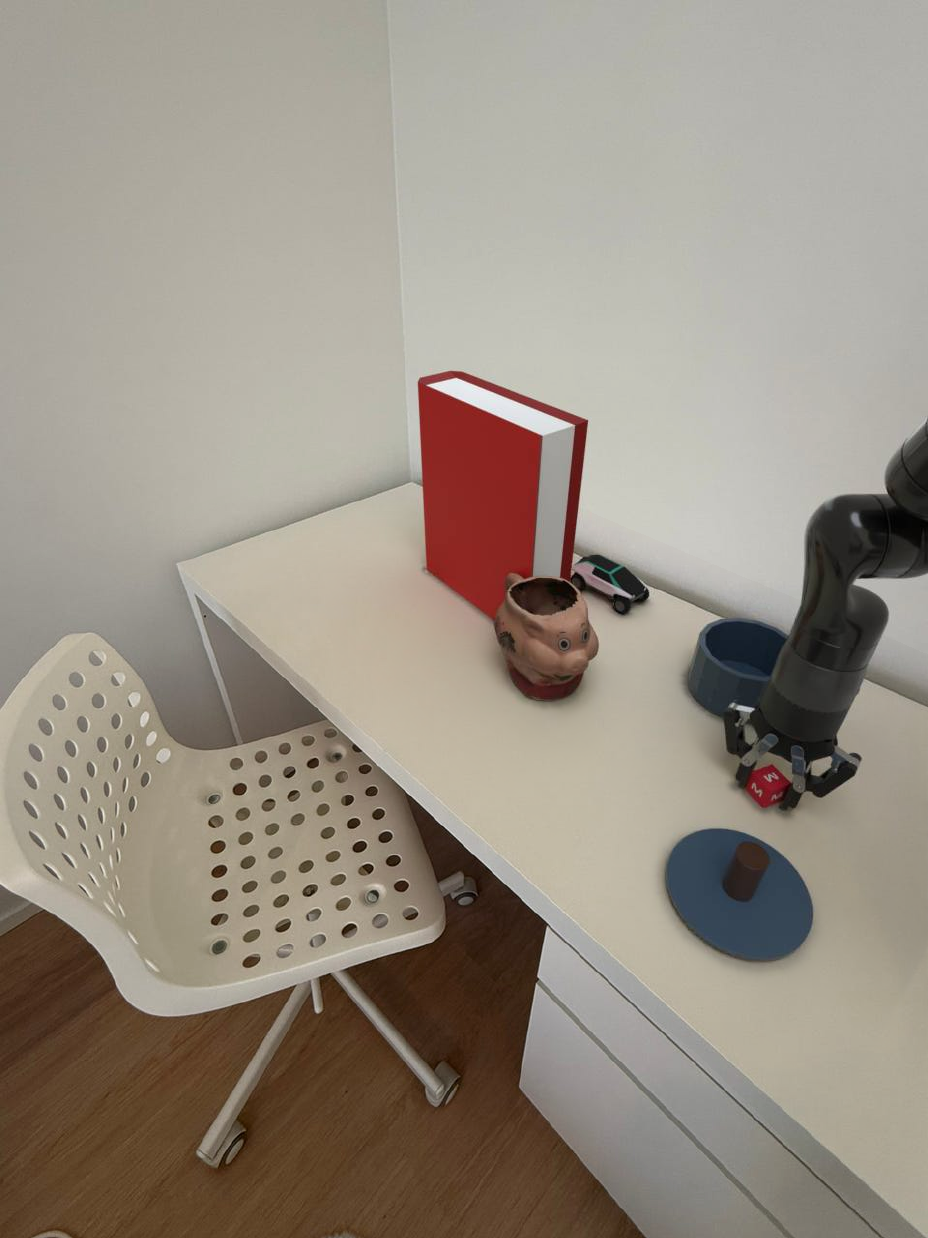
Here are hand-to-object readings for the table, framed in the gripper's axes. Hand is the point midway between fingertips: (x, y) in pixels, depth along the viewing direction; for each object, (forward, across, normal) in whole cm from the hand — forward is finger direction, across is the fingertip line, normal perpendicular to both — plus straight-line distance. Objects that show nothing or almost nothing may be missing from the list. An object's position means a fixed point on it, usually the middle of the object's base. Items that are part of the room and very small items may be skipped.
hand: (764, 793), depth 74 cm
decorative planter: (0, -32, +1) cm, 32 cm away
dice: (0, 0, 0) cm, 0 cm away
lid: (0, +2, -14) cm, 14 cm away
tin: (0, -9, +15) cm, 17 cm away
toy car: (0, -34, +24) cm, 42 cm away
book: (0, -49, +12) cm, 50 cm away
